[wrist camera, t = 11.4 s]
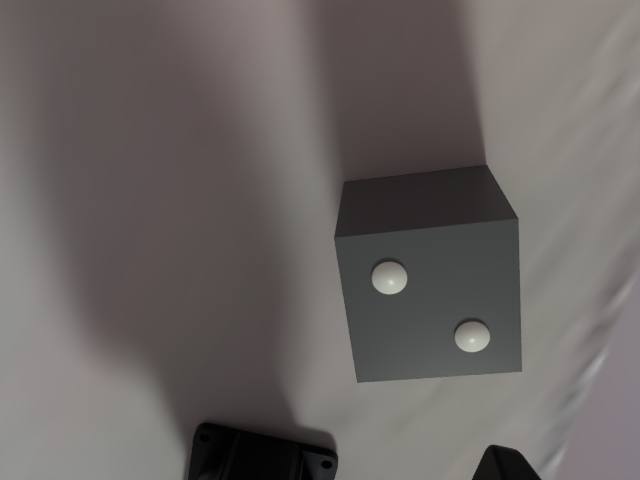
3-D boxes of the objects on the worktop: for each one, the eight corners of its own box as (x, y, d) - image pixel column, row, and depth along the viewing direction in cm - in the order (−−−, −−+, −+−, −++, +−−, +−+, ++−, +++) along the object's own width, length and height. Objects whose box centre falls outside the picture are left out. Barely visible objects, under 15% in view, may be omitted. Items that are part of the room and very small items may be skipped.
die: (492, 291, 22) (522, 373, 17) (361, 302, 23) (357, 384, 18) (486, 165, 20) (518, 219, 15) (344, 182, 21) (333, 239, 16)
